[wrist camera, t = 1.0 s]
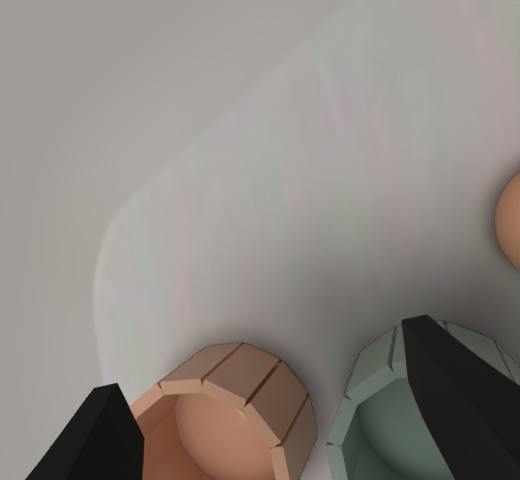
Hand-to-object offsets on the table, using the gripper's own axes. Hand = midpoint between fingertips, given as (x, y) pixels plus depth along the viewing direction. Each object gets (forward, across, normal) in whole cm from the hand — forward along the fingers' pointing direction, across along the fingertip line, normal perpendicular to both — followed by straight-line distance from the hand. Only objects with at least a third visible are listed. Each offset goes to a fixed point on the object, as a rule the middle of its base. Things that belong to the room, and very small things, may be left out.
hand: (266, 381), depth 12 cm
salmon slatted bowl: (+9, +3, +11) cm, 15 cm away
